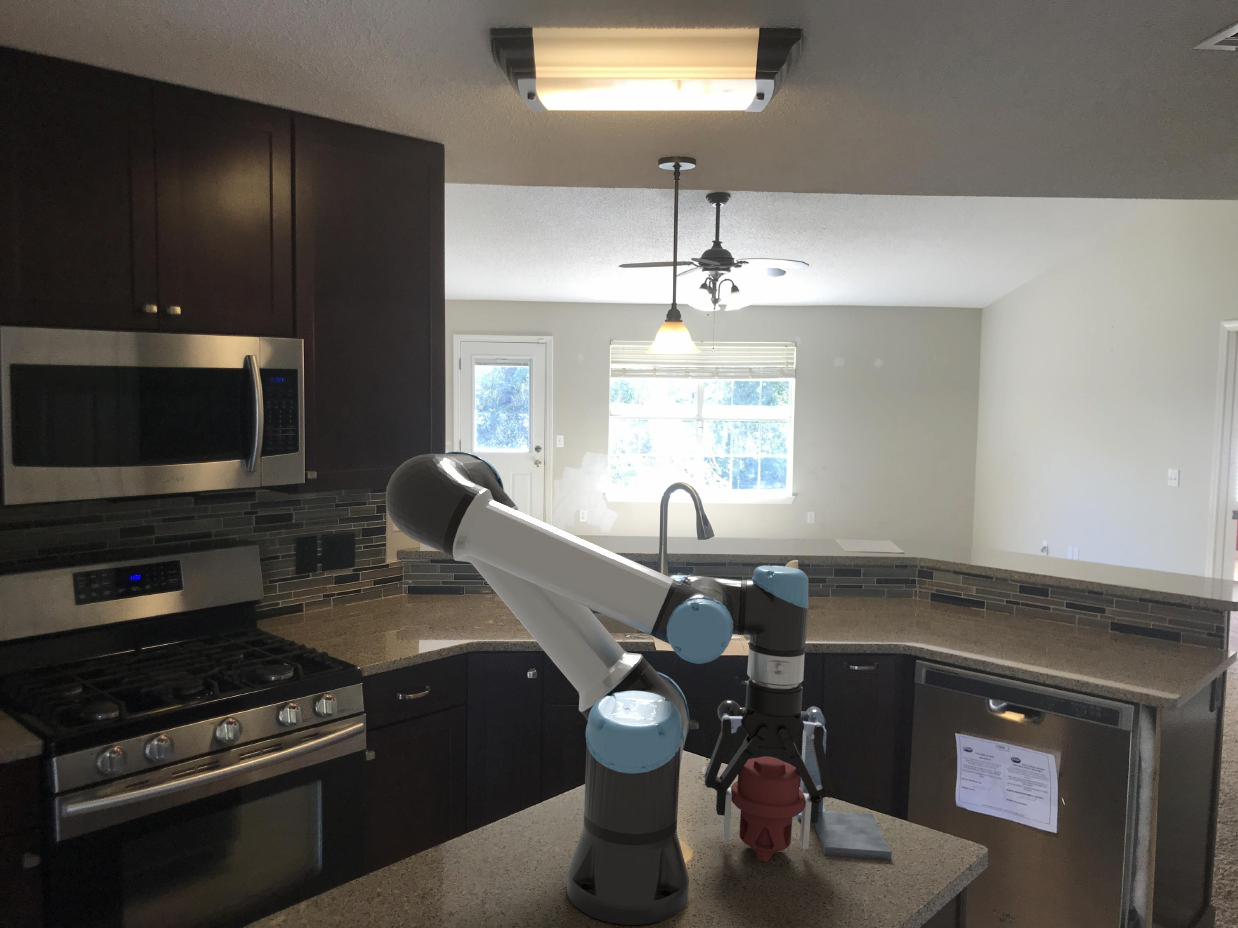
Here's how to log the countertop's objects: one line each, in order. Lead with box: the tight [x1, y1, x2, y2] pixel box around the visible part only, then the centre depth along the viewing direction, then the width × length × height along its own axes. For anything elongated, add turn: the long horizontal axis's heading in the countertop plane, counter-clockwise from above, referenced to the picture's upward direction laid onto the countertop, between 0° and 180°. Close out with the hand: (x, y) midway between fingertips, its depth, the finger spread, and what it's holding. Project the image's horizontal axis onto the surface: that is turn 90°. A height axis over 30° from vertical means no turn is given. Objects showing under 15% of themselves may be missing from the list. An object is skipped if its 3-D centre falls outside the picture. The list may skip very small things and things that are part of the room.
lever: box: [717, 699, 826, 727], centre depth 128 cm, size 16×4×4 cm, turn 86°
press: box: [796, 725, 893, 861], centre depth 123 cm, size 11×15×14 cm
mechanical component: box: [730, 756, 805, 862], centre depth 115 cm, size 12×10×10 cm
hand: (764, 840), depth 116 cm, fingers closed on mechanical component, 10 cm apart
